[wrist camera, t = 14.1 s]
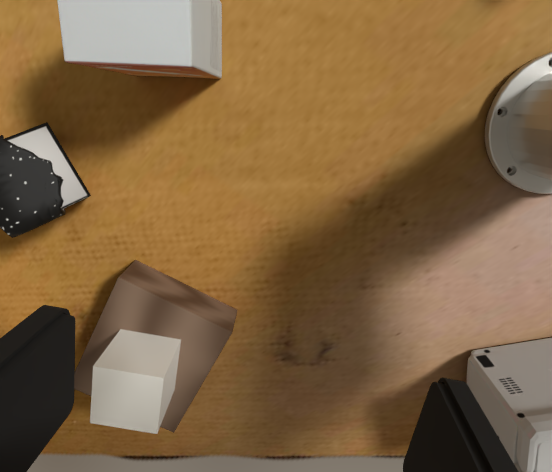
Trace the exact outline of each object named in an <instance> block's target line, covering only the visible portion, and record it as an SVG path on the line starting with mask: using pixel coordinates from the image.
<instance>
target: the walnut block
mask: <svg viewBox="0 0 552 472" xmlns="http://www.w3.org/2000/svg"><path fill="white" fill-rule="evenodd" d="M236 314H237V309H235V308H233V307H230V306H228V305H226V304H224V303H222V302H220V301H218V300H216V299H214V298H212V297H210V296H208V295H206V294H204V293H202V292H200V291H198V290H196V289H194V288H192V287H190V286H188V285H186V284H184V283H182V282H180V281H178V280H176V279H174V278H172V277H170V276H168V275H165V274H163V273H161V272H159V271H157V270H155V269H153V268H151V267H149V266H147V265H145V264H143V263H141V262H139V261H137V260H135V261H134V262H133V263H132V264H131V265H130V266H129V267H128V268H127V269H126V270H125V271H124V272H123V273H122V274H121V275H120V276H119V277H118V279H117V282H116V284H115V286H114V288H113V290H112V292H111V295H110V297H109V299H108V301H107V303H106V306H105V308H104V310H103V312H102V314H101V316H100V319H99V321H98V323H97V325H96V327H95V329H94V332H93V334H92V336H91V338H90V340H89V342H88V345H87V347H86V349H85V351H84V353H83V356H82V358H81V360H80V362H79V364H78V366H77V369H76V371H75V374H74V389H76V390H78V391H81V392H83V393H85V394H87V395H90V396H91V395H92V377H93V366H94V364H95V363H96V362H97V360H98V359H99V358H100V356H101V355H102V353H103V352H104V351H105V349H106V348H107V347H108V345H109V344H110V343H111V341H112V340H113V339H114V337H115V336H116V335H117V333H118V332H119V331H120V329H123V330H129V331H134V332H140V333H146V334H152V335H157V336H163V337H169V338H175V339H181V344H180V352H179V360H178V367H177V375H176V383H175V390H174V392H173V395H172V398H171V400H170V403H169V405H168V408H167V410H166V413H165V415H164V418H163V420H162V423H161V426H160V427H162V428H165V429H167V430H169V431H171V432H174V431H175V430H176V428H177V426H178V425H179V423H180V421H181V419H182V418H183V416H184V414H185V413H186V411H187V409H188V407H189V406H190V404H191V402H192V400H193V399H194V397H195V395H196V394H197V392H198V390H199V388H200V387H201V385H202V383H203V382H204V380H205V378H206V376H207V375H208V373H209V371H210V370H211V368H212V366H213V364H214V363H215V361H216V359H217V358H218V356H219V354H220V352H221V351H222V349H223V347H224V346H225V344H226V342H227V340H228V339H229V337H230V335H231V334H232V331H233V327H234V323H235V318H236Z"/></svg>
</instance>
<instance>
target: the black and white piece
mask: <svg viewBox="0 0 552 472" xmlns="http://www.w3.org/2000/svg"><path fill="white" fill-rule="evenodd" d="M3 138H4V137H3V135H1V136H0V228H1V229H2V230H3V231H5V232H6V233H7V234H8V235H9V236H11V237H12V238H13V237H16V236H18V235H21V234H23V233H26V232H28V231H31V230H33V229H35V228H37V227H39V226H41V225H44V224H46V223H48V222H50V221H52V220H54V219H56V218H58V217H60V216H62V215H64V214H65V213H66V212H65V210H64V208H66V207H68V206H70V205H73V204H75V203H77V202H79V201H81V200H83V199H85V198H87V197H89V196H91V195H90V193H89V192H88V190H87V188H86V187H85V185H84V183H83V182H82V180H81V178H80V177H79V175H78V173H77V172H76V170H75V168H74V167H73V165H72V163H71V162H70V160H69V158H68V157H67V155H66V153H65V152H64V150H63V148H62V146H61V145H60V143H59V141H58V140H57V138H56V136H55V135H54V133H53V131H52V130H51V128H50V126H49V125H48V123H44V124H42V125H39V126H36V127H34V128H31V129H29V130H26V131H23V132H21V133H18V134H16V135H13V136H10V137H8V138H5V139H3Z"/></svg>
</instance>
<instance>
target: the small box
mask: <svg viewBox="0 0 552 472" xmlns="http://www.w3.org/2000/svg"><path fill="white" fill-rule="evenodd" d="M58 9H59V17H60V26H61V35H62V43H63V51H64V60H65V62H67V63H73V64H79V65H84V66H89V67H94V68H99V69H104V70H109V71H115V72H120V73H124V74H128V75H133V76H171V77H194V78H214V79H221V78H222V4H221V2H220V0H58Z"/></svg>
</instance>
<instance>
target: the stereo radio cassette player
mask: <svg viewBox="0 0 552 472" xmlns="http://www.w3.org/2000/svg"><path fill="white" fill-rule="evenodd" d="M467 385H468V386H469V388H470V390H471V391H472V393H473V395H474V397H475V398H476V400H477V402H478V403H479V405H480V407H481V408H482V410H483V412H484V414H485V415H486V417H487V419H488V420H489V422H490V424H491V426H492V427H493V429H494V431H495V432H496V434H497V436H498V437H499V439H500V441H501V443H502V444H503V446H504V448H505V449H506V451H507V453H508V454H509V456H510V458H511V460H512V461H513V463H514V465H515V466H516V468H517V470H518V471H519V472H552V338H546V339H539V340H533V341H527V342H521V343H515V344H509V345H502V346H496V347H490V348H484V349H478V350H473V351H471V356H470V357H469V358H468V366H467Z"/></svg>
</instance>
